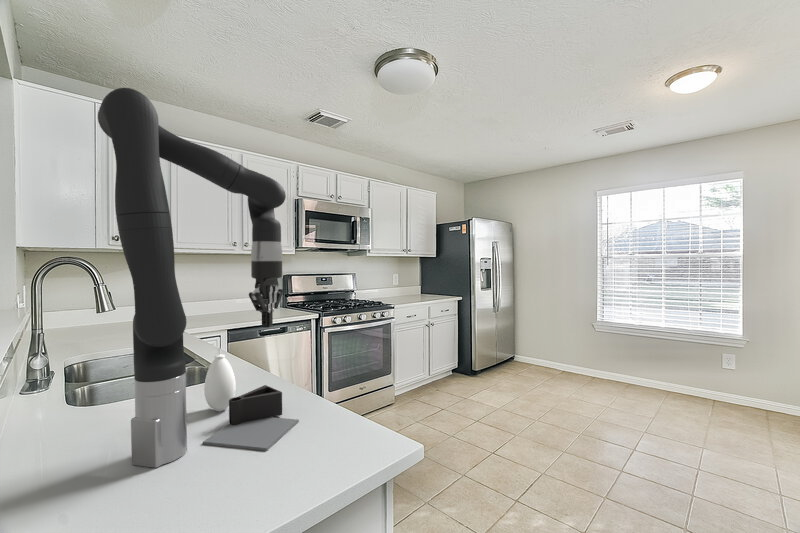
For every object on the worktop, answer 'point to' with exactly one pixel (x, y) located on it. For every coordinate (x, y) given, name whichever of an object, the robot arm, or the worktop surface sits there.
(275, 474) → the worktop surface
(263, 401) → the phone stand
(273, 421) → the rubber mat
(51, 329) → the worktop surface
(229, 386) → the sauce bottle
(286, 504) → the worktop surface
